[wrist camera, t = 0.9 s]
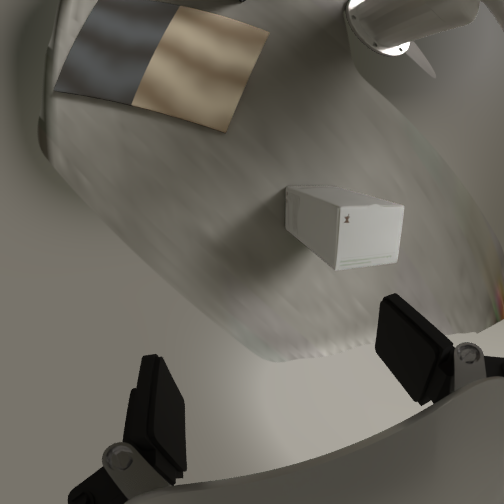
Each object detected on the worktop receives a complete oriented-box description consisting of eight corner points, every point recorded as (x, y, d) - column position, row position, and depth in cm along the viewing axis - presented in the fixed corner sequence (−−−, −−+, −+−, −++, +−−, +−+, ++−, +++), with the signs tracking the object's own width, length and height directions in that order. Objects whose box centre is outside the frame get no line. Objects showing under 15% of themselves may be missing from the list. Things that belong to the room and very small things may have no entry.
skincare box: (283, 228, 40) (329, 274, 26) (284, 182, 38) (336, 204, 23) (336, 226, 41) (398, 266, 27) (339, 183, 39) (407, 205, 25)
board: (102, -1, 22) (101, -4, 21) (268, 35, 29) (269, 32, 29) (56, 91, 27) (53, 90, 26) (225, 133, 34) (226, 132, 33)
